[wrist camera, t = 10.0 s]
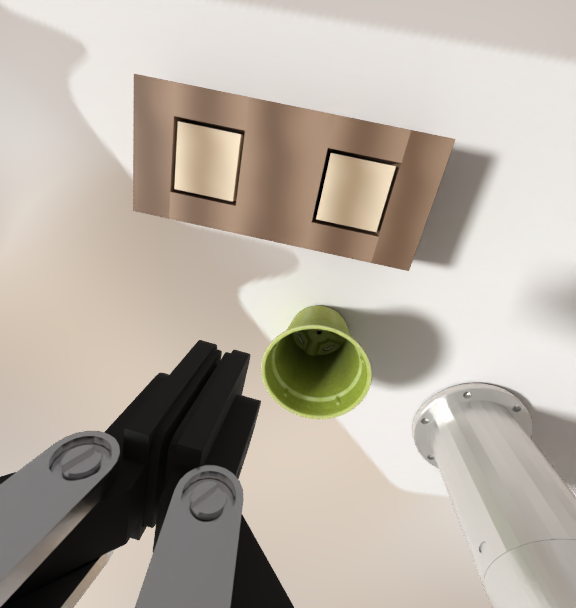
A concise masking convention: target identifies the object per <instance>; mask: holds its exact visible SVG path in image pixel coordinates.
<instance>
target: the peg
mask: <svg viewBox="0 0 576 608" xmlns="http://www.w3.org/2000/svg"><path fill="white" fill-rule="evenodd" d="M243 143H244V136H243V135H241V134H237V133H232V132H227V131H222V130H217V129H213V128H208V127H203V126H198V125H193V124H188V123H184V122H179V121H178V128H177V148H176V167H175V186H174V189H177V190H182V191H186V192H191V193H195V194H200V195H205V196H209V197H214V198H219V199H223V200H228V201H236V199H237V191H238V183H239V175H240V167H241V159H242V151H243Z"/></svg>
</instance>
